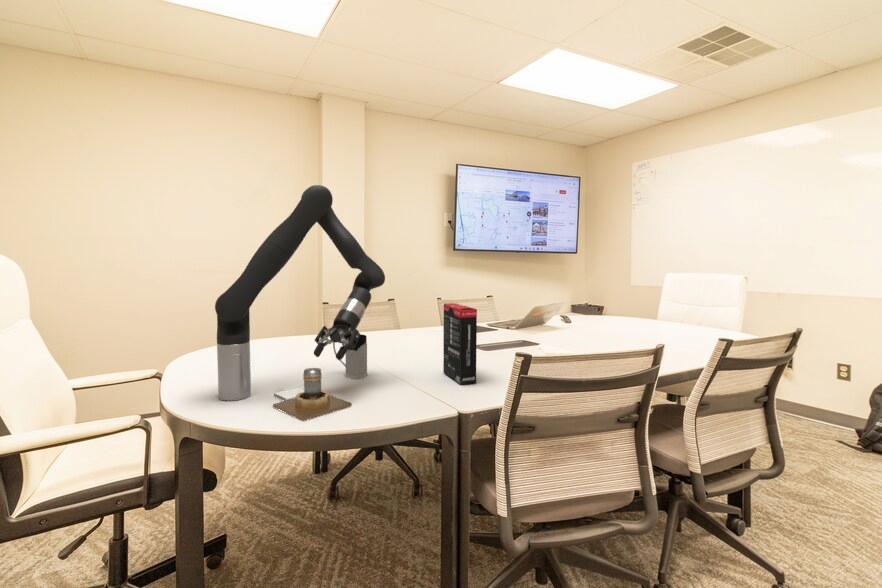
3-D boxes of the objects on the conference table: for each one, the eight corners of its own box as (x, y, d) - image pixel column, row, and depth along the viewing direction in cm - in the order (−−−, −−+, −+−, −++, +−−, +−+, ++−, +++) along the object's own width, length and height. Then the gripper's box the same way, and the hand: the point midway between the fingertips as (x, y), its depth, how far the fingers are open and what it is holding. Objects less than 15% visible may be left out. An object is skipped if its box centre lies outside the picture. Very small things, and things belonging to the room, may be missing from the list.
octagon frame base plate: (273, 407, 126) (272, 395, 126) (320, 394, 138) (320, 384, 138) (303, 421, 116) (303, 408, 115) (351, 406, 128) (351, 394, 128)
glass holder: (360, 380, 155) (360, 339, 154) (327, 376, 160) (326, 336, 159) (372, 374, 164) (372, 335, 163) (339, 370, 168) (339, 332, 167)
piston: (300, 403, 127) (299, 370, 126) (315, 399, 131) (314, 366, 130) (310, 407, 123) (309, 373, 123) (325, 403, 127) (325, 369, 127)
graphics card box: (477, 384, 152) (479, 307, 150) (459, 386, 150) (460, 308, 147) (457, 372, 168) (459, 302, 166) (441, 373, 165) (442, 303, 163)
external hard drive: (273, 397, 136) (308, 389, 145) (286, 403, 131) (322, 394, 140) (273, 392, 136) (308, 384, 145) (286, 398, 131) (322, 389, 140)
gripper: (327, 307, 141) (302, 347, 132) (363, 309, 135) (339, 352, 126) (338, 321, 147) (314, 361, 137) (372, 324, 140) (351, 366, 131)
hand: (326, 357), depth 132 cm, fingers open, 8 cm apart
